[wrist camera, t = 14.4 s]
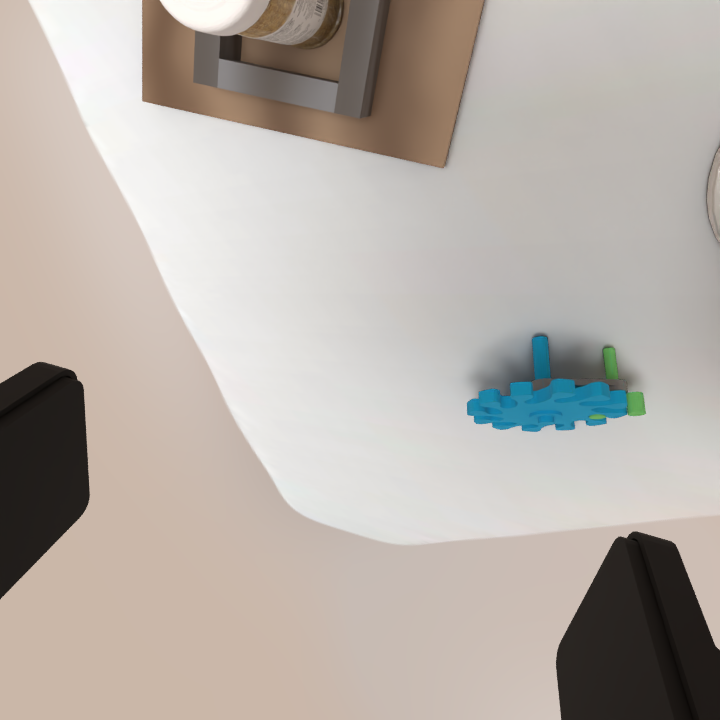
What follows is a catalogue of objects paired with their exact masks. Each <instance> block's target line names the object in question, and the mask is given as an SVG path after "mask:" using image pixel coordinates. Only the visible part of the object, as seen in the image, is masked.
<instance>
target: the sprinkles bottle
mask: <svg viewBox="0 0 720 720" xmlns="http://www.w3.org/2000/svg"><path fill="white" fill-rule="evenodd" d="M160 2H161V3H162V5H163V6H164V7H165V9H166V10H167V11H168V12H169V13H170V14H171V15H172V16H173V17H174V18H175V19H176V20H177V21H179V22H180V23H182V24H183V25H185V26H187V27H189V28H191V29H193V30H196V31H199V32H203V33H207V34H212V35H218V36H231V35H235V34H238V35H241V36H244V37H248V38H253V39H259V40H265V41H269V42H274V43H279V44H285V45H291V46H293V47H296V48H302V49H314V48H316V47H319V46H322V45H324V44H325V43H326V42H327V41H328V40H330V39H331V38H332V36H333V35H334V34H335V32H336V31H337V28H338V27H339V25H340V22H341V20H342V13H343V0H160Z"/></svg>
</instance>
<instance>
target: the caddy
mask: <svg viewBox="0 0 720 720" xmlns="http://www.w3.org/2000/svg"><path fill="white" fill-rule="evenodd" d="M484 1H485V0H343V13H342V20H341V22H340V25H339V27H338V28H337V31H336V32H335V34H334V35H333V36H332V38H331V39H330V40H328V41H327V42H326V43H325V44H324V45H322V46H319V47H316V48H314V49H302V48H296V47H293V46H291V45H285V44H279V43H274V42H269V41H265V40H259V39H253V38H248V37H244V36H241V35H238V34H235V35H231V36H218V35H212V34H207V33H203V32H199V31H196V30H193V29H191V28H189V27H187V26H185V25H183V24H182V23H180V22H179V21H177V20H176V19H175V18H174V17H173V16H172V15H171V14H170V13H169V12H168V11H167V10H166V9H165V7H164V6H163V5H162V3H161V2H160V0H142V101H144V102H148V103H153V104H157V105H162V106H166V107H171V108H175V109H180V110H184V111H189V112H193V113H198V114H202V115H207V116H211V117H216V118H220V119H225V120H229V121H234V122H238V123H243V124H247V125H252V126H256V127H261V128H265V129H270V130H274V131H279V132H283V133H288V134H292V135H297V136H301V137H306V138H310V139H314V140H319V141H323V142H328V143H332V144H337V145H341V146H346V147H350V148H355V149H359V150H364V151H368V152H373V153H377V154H382V155H386V156H391V157H395V158H400V159H404V160H409V161H413V162H418V163H422V164H427V165H431V166H436V167H440V168H444V166H445V164H446V159H447V155H448V151H449V147H450V143H451V138H452V134H453V130H454V126H455V122H456V118H457V113H458V109H459V105H460V101H461V97H462V93H463V88H464V84H465V80H466V76H467V72H468V68H469V63H470V59H471V55H472V51H473V47H474V43H475V38H476V34H477V30H478V26H479V22H480V18H481V13H482V9H483V5H484Z"/></svg>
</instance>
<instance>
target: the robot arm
mask: <svg viewBox="0 0 720 720" xmlns="http://www.w3.org/2000/svg"><path fill="white" fill-rule="evenodd" d="M707 205H708V213H709V220H710V223H711V225H712V228H713V231H714V234H715V236H716V238H717V240H718V241H719V243H720V148H719V149H718V151H717V153H716V155H715V159H714V162H713V165H712V169H711V172H710V175H709V181H708V191H707ZM89 496H90V494H89V475H88V457H87V441H86V422H85V404H84V389H83V385H82V383H81V382H80V381H78V380H77V376H76V374H75V373H74V372H73V371H71V370H69V369H66V368H62V367H59V366H55V365H52V364H48V363H44V362H37V363H35V364H32V365H31V366H29V367H27V368H26V369H24V370H23V371H21V372H19V373H17V374H16V375H14V376H12V377H10V378H9V379H7V380H5V381H4V382H2V383H0V599H1V598H2V596H4V595H5V594H6V593H7V592H8V591H9V590H10V589H11V587H12V586H13V585H14V584H15V583H16V582H17V581H18V580H19V579H20V578H21V577H22V576H23V575H24V574H25V573H26V572H27V571H28V570H29V569H30V568H31V567H32V566H33V565H34V564H35V563H36V562H37V561H38V560H39V559H40V558H41V557H42V556H43V554H45V553H46V552H47V550H49V549H50V547H51V546H52V545H53V544H54V543H55V542H56V541H57V540H58V539H59V538H60V537H61V536H62V535H63V534H64V533H65V532H66V531H67V530H68V529H69V528H70V527H71V526H72V525H73V524H74V523H75V522H76V521H77V520H78V519H79V518H80V517H81V515H82V514H83V513H84V511H85V510H86V507H87V505H88V501H89ZM556 659H557V660H556V669H557V680H558V690H559V700H560V710H561V720H720V650H719V649H718V648H717V647H716V646H715V644H714V642H713V639H712V636H711V634H710V631H709V629H708V626H707V624H706V621H705V618H704V616H703V613H702V611H701V608H700V605H699V603H698V600H697V598H696V595H695V592H694V590H693V587H692V585H691V582H690V579H689V577H688V574H687V572H686V569H685V567H684V564H683V562H682V559H681V556H680V554H679V551H678V549H677V547H676V545H675V544H674V543H673V542H671V541H668V540H665V539H661V538H658V537H654V536H651V535H647V534H644V533H640V532H632V533H631V534H629V536H628V537H627V538H624V537H618V538H617V539H615V541H614V543H613V544H612V546H611V548H610V550H609V552H608V554H607V556H606V557H605V559H604V561H603V563H602V565H601V567H600V569H599V571H598V573H597V575H596V576H595V578H594V580H593V582H592V584H591V586H590V588H589V590H588V591H587V593H586V595H585V597H584V599H583V601H582V603H581V604H580V606H579V608H578V610H577V612H576V614H575V616H574V618H573V620H572V621H571V623H570V625H569V627H568V629H567V631H566V633H565V635H564V636H563V638H562V640H561V642H560V644H559V648H558V652H557V658H556Z"/></svg>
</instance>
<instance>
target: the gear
mask: <svg viewBox="0 0 720 720" xmlns="http://www.w3.org/2000/svg"><path fill="white" fill-rule="evenodd" d="M532 346H533V360H534V374H535V380H533V381H531V382H514V383H510V396H502V395H500V390H498V389H488V390H484V391H480V392H479V399H472V400H470V401H468V402H467V415H471V416H474V422H475V423H476V424H486V423H492V425H493V428H496V429H500V430H504V429H509V428H512V427H515V426H521V425H522V431H531V432H537V431H540V430H541V428H542V427H544V426H548V425H553V424H555V427H556V430H573V429H575V424H574V421H578V420H586V425H589V426H595V425H601V424H607V422H606V417H608V418H619V417H622V416H624V415H627V412H628V415H630V416H640V415H644V414H646V411H645V404H644V397H643V393H642V392H630V393H628V391H627V383H626V381H625V380H621V379H618V371H617V363H616V355H615V349H614V348H605V349H603V355H604V364H605V372H606V379H552V378H551V373H550V361H549V349H548V338H547V337H544V336H538V337H534V338H533V339H532ZM626 407H627V408H626Z"/></svg>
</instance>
